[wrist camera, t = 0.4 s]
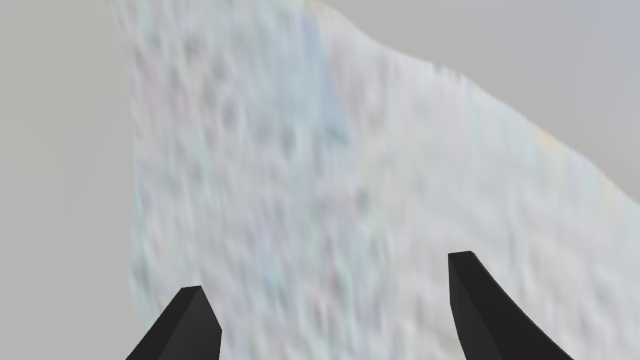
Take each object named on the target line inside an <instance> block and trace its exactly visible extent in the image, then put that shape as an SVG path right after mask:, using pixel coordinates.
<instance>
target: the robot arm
mask: <svg viewBox="0 0 640 360" xmlns="http://www.w3.org/2000/svg"><path fill="white" fill-rule="evenodd" d="M448 266H449V290H450V305H451V309H452V313H453V318H454V322H455V326H456V329H457V333H458V337H459V340H460V343H461V346H462V349H463V351H464V354H465V357H466V360H574V359H572V358H571V357H570V356H569V355H568V354H567V353H566V352H564V351H563V350H562V349H561V348H560V347H559V346H558V345H557V344H556V343H554V342H553V341H552V340H551V339H550V338H549V337H548V336H547V335H546V334H545V333H544V332H543V331H542V330H541V329H540V328H539V327H538V326H537V325H536V324H535V323H534V322H533V321H532V320H531V319H530V318H529V317H528V316H527V315H526V314H525V313H524V312H523V311H522V310H521V309H520V308H519V307H518V306H517V305H516V303H515V302H514V301H513V300H512V299H511V298H510V297H509V296H508V295H507V294H506V292H505V291H504V290H503V289H502V288H501V287H500V286H499V284H498V283H497V282H496V281H495V280H494V278H493V277H492V276H491V275H490V273H489V272H488V271H487V270H486V268H485V267H484V266H483V265H482V263H481V262H480V261H479V259H478V258H477V256H476V255H475V254H474V253H473V252H472V251H465V252H457V253H449V254H448ZM221 336H222V329H221V327H220V325H219V323H218V320H217V318H216V316H215V314H214V312H213V310H212V308H211V306H210V304H209V301H208V299H207V297H206V295H205V293H204V291H203V289H202V287H201V285H200V286H192V287H185V288H181V289H180V290H179V292H178V293H177V294H176V295H175V297H174V298H173V299H172V301H171V302H170V303H169V305H168V306H167V307H166V309H165V310H164V311H163V313H162V314H161V315H160V317H159V318H158V319H157V320H156V322H155V323H154V324H153V326H152V327H151V328H150V330H149V331H148V332H147V333H146V335H145V336H144V337H143V339H142V340H141V341H140V343H139V344H138V345H137V346H136V347H135V349H134V350H133V352H131V354H130V355H129V356H128V357H127V358H126V360H219V354H220V346H221Z"/></svg>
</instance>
